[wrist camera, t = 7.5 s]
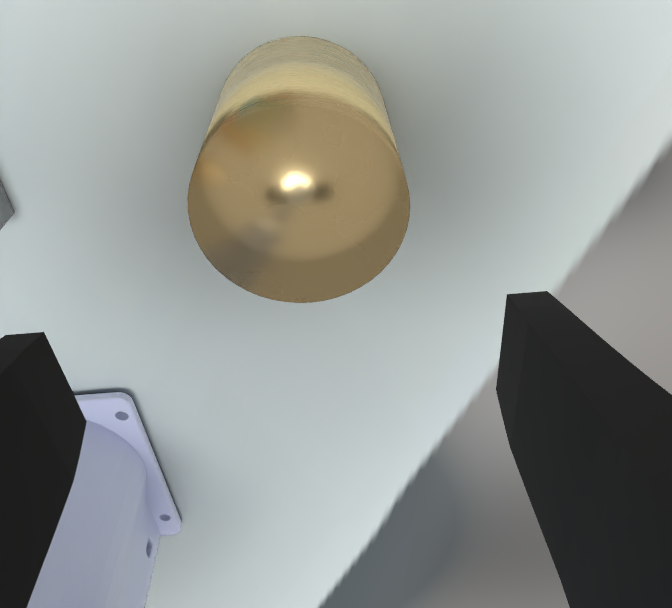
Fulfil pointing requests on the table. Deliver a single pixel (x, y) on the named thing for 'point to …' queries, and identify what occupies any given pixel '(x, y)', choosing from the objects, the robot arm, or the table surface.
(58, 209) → the table surface
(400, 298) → the table surface
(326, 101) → the cylinder
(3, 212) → the scale
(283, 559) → the table surface
